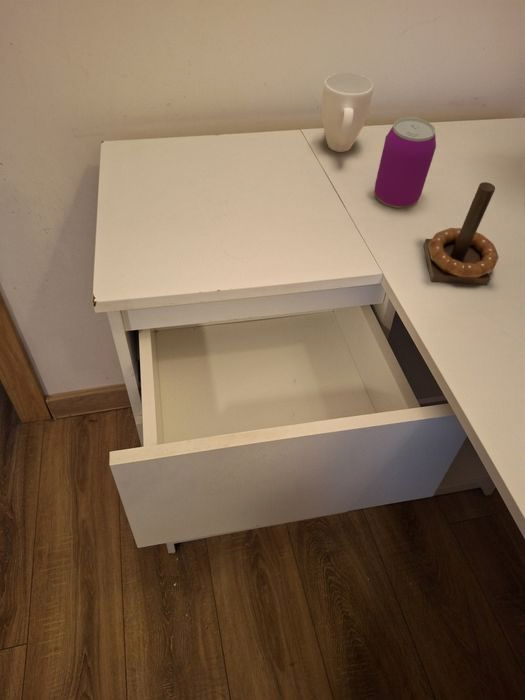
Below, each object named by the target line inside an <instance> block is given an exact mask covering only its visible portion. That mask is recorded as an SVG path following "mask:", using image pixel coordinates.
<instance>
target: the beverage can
mask: <svg viewBox="0 0 525 700" xmlns="http://www.w3.org/2000/svg"><path fill="white" fill-rule="evenodd" d="M436 137H437V136H436V128H435V126H434V125H433V124H432V123H431V122H429V121H428V120H425V119H422V118H418V117H403V118H399V119H397V120H396V121H395V122H394V123H393V125H392V127H391V129H390V130H389V132H388V133H387V134H386V135H385V139H384V144H383V148H382V152H381V157H380V160H379V165H378V170H377V173H376V174H377V175H376V178H375V183H374V195H375V196H376V197H377V198H378V199H379V201H380V202H381V203H383V204H384V205H386V206H387V207H392V208H397V209H400V208H406V207H410V206H412V205H414V204H416V203H417V202H418V201H419V199H420V198H421V195H422V193H423V190H424V187H425V183H426V181H427V178H428V173H429V171H430V168H431V164H432V161H433V158H434V155H435V152H436V148H437V139H436Z"/></svg>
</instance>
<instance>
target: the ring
mask: <svg viewBox="0 0 525 700" xmlns="http://www.w3.org/2000/svg"><path fill="white" fill-rule="evenodd" d="M461 228H462V227H448V228H446V229H443V230H441V231H438V232H436V233H435V234H434V235H433V237H432V238H431V239H432V240H431V241H430V243H429V245H428V248H429V252H430V256H431V259H432V261H433V262H434V263H436V264H437V265H438V266H439V267H440V268H441V269H442V270H443V271H446V272H448V273H451V274H453V275H456V276H458V277H472V278H477V277H480V276H482V275H485V274H487V273H489V274H490V273H491V272H492V271H494V269H495V267H496V266H497V263H498V262H499V254H498V251H497V249H496V246H495V243H493V241H491V240H490V239H489V238H487V237H486V236H485V235H484V234H482V233H479V232H477V231H476V234H475V236H474V238H473V240H472V243H471V246H474V247H475V248H476V249H477V250H478V251H480V252H481V254H482V257H483V258H482V260H481V261H479V262H477V263H463V262H460V261H458V260H455V259H453V258H451V257H450V256H449V255H448V254H447V253H446V252H445V251H444V248H443V247H444V245H445V244H447V243H449V242H456V240H457V238H458V235H459V233H460V231H461Z"/></svg>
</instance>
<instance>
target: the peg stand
mask: <svg viewBox="0 0 525 700" xmlns="http://www.w3.org/2000/svg"><path fill="white" fill-rule="evenodd" d="M495 191H496V186H495V185H494V184H493V183H491V182H487V181H483V182H481V183H479V185H478V187H477V189H476V192H475V194H474V197H473V199H472V201H471V204H470V206H469V209H468V212H467V214H466V216H465V218H464V221H463V223H462V226H461V227H460V228H461V231H460V233H459V235H458V238H457V240H456V242H449V243H447V244H445V245H444V247H443V248H444V251H445V252H446V253H447V254H448V255H449V256H450V257H451V258H453V259H455V260H458V261H460V262H463V263H477V262H479V261H481V260H482V258H483V257H482V254H481V252H480V251H478V250H477V249H476V248H475V247H474V246H471V243H472V240H473V238H474V236H475V234H476V232H477V231H478V230H479V227H480V224H481V222H482V220H483V218H484V215H485V213H486V212H487V209H488V207H489V204H490V203H491V200H492V198H493V195H494V193H495ZM431 240H432V238H425V240H424V242H423V248H424V253H425V258H426V262H427V267H428V272H429V277H430V281H431V282H437V283H439V282H440V283H453V284H455V283H457V284H471V285H473V284H474V285H488V284H489V282H490V280H491V276H490V272H489V273H487V274H485V275H482V276H480V277H477V278H472V277H458V276H456V275H453V274H451V273H448V272H446V271H443V270H442V269H441V268H440V267H439V266H438V265H437V264H436V263H434V262H433V261H432V259H431V256H430V252H429V248H428V245H429V243H430V241H431Z"/></svg>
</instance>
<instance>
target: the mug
mask: <svg viewBox="0 0 525 700" xmlns="http://www.w3.org/2000/svg"><path fill="white" fill-rule="evenodd" d="M323 83H324V84H323V89H322V98H321V109H320V110H321V111H320V112H321V123H322V126H323V131H324V135H325V140H326V143H327V147H328V148H329V149H330V150H331V151H334V152H337V153H343V152H348V151H350V150H351V148H352V146H353V145H354V143H355V141H356V140H357V138H358V136H359V135H360V133H361V132H362V130H363V128H364V127H365V124H366V122H367V119H368V116H369V114H370V108H371V103H372V99H373V94H374V93H373V92H374V83H373V81H372V80H371V79H370V78H369V77H367V76H366V75H363V74H361V73H356V72H351V71H340V72H334V73H332V74H330V75H328V76H327V77H326V78H325V80H324V82H323Z"/></svg>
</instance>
